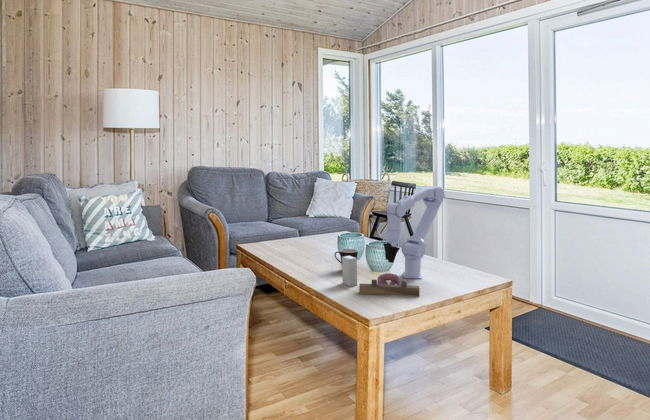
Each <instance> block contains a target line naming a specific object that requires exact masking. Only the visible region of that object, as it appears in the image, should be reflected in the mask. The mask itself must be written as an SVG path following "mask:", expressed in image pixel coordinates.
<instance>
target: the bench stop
mask: <svg viewBox="0 0 650 420" xmlns="http://www.w3.org/2000/svg"><path fill="white" fill-rule="evenodd" d="M377 280H378V279H371V283H359V285H358V294H359V295H374V296H375V295H376V296H379V295H380V296H399V297H402V296H403V297H420V285H409V284H407V283H408V281H407V280H400V282H401V285H397V284H395V285H390V284H388V285H386V284H378V282H377Z"/></svg>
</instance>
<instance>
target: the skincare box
mask: <svg viewBox="0 0 650 420" xmlns="http://www.w3.org/2000/svg"><path fill="white" fill-rule="evenodd" d="M341 271H342V276H341V277H342V283H343V285H346V286H348V287H355V286H358V257H357V258H355V257H352V256H343V257H342V264H341Z"/></svg>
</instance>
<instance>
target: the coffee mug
mask: <svg viewBox="0 0 650 420" xmlns="http://www.w3.org/2000/svg"><path fill="white" fill-rule="evenodd" d="M337 253H338V254H339V256H340V259H338V257H337ZM358 253H359V250H358V249H355V248H342V249H340V250H339V251H335V252H334V258H335V259H336V260H337V261H338V263H340V264H341V265H342V257H343V256H352V257H355V258H357V259H358Z"/></svg>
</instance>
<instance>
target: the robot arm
mask: <svg viewBox="0 0 650 420" xmlns="http://www.w3.org/2000/svg"><path fill="white" fill-rule="evenodd" d="M444 190H445V189H444V188H443V186H433V185H432V186H431V185H423V186H421V187H420V189H419V190H418V191H416V192H415V193H413V194H412V195H404V196H403V197H402V198H401V199H399V200H397V201H396V202H391V203H388V206H386V215H387V216H386V217H387V224H386V225H387V226H386V233H385V238H383V239H382V242H384V243H383V244H382V245H383V247H384V248H383V249H384V254H385V255H384V257H385V260H386V261H387V262H388V263H392V264H393V263H394V262H395V259H396V257H397V254H398V252H399V250H401V254H402V255H403V257H404V271H403V272H402V273H403V278H404V279H421V280H422V278H423V277H422V273H421V271H422V269H421V267H422V263H421V262H422V259H423V257H424V256H425V254H426V248H427V243H426V242H425V239H426V236H427V235H428V232H429V231H430V228H431V226H432V225H433V222H434V220H435V218H436V216H437V214H438V212H439V210H440V206H441V205H442V203H443V200H444V199H445V195H446V194H445V191H444ZM421 200H422V202H423V203H424V205H425V206H426V208H425V210H424V213H423V215H422V217H421V218H420V220H419V222H418V225H417V227H416V228H415V231H414V233H413V235H411V236H409V237H407V239H406V240H405V242H403V243H402V245H401V247H398V246H397V245H398V244H399V243H400V241H399V239H400V231H401V225H402V217H404V216H405V214H406V212H407V211H409V210H410V209H412V208H414V207H415V204H416V203H417V202H420V201H421ZM400 248H401V249H400Z"/></svg>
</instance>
